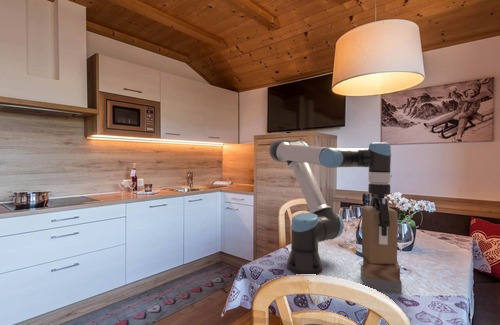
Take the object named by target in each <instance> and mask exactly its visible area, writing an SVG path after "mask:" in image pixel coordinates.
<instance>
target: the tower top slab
mask: <svg viewBox="0 0 500 325" xmlns="http://www.w3.org/2000/svg"><path fill="white" fill-rule="evenodd" d="M362 265H363V276H364V277H370V278H376V279H382V280H388V281H394V282H400V280H401V268H400V267H401V266H400V264H399V261H398V260H397V264H371V263H369V262H368V260H367V259H366V258H365V256H364V255H363V254H362Z"/></svg>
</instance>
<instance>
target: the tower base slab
mask: <svg viewBox="0 0 500 325" xmlns="http://www.w3.org/2000/svg"><path fill="white" fill-rule="evenodd" d="M360 278H361V282H362V283H363V286H364V285H365V286H368V287H370V288H373V289H376V290H377V291H376V292H381V291H384V292H383V293H389V292H390V294H397V293H400V294H399V295H402V294H403V293H402V292H403V291H402V288H403V286H402V282H403V281H402V280H401V279H400V282H394V281H388V280H382V279H376V278H370V277H364V276H363V264H360ZM381 293H382V292H381Z"/></svg>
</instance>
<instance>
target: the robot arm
mask: <svg viewBox="0 0 500 325" xmlns="http://www.w3.org/2000/svg"><path fill="white" fill-rule="evenodd" d="M391 148H392V147H391V144H390V143H389V142H370V143H369V144H368V147H367V148H350V147H349V148H348V147H347V148H346V147H345V148H344V147H343V148H342V147H325V146H323V147H322V146H314V145H313V146H312V145H308V143H306V142H305V141H304V140H299V139H296V140H292V139H291V140H290V139H277V140H275V141H273V142H272V143H271V144H270V146H269V150H268V151H269V155H270V158H271V159H272V160H273V161H275V162H279V163H287V166H288V168H289V169H291V170H292V171H293V173H294V176H295V177H296V181H297V183H298V185H299V188H300V190H301V193H302V195H303V197H304V200H305V202H306V205H307V207H308V210H309V212H306V213H305V212H304V213H302V212H301V213H299V214H296V215H294V216H293V217H292V219H291V225H290V228H291V229H290V230H291V231H290V234H291V235H290V236H291V237H290V239H291V241H290V245H291V249H290V253H289V255H288V257H287V258H288V259H287V261H286V264H287V266H286V267H287V269H288V270H289V271H290V272H292V273H294V274H297V275H300V274H316V275H318V274H320V273H322V271H323V263H322V258H321V257H320V254H319V243H320V242H325V241H328V240H334V239H336V238H339V237H340V236H341V235H342V234H343V230H344V227H345V224H344V220H343V218H342V216H341V215H340V214H339V213H337V212H334V210H333V208H332V206H330V205H328V204H327V201H326V200H325V198H324V196H323V194H322V191H321V189H320V187H319V184H318V182H317V180H316V177H315V175H314V173H313V170H312V169H311V166H310V164H311V165H318V166H323V167H324V168H329V169H335V168H368V179H367V180H368V182H369V183H368V189H367V190H368V194H371V200H370V206H375V207H376V210H378V211H380V213H379V221H380V224H378V226H379V244H384V245H388V226H390V221H389V212H388V207H389V206H388V204H389V203H388V200H389V199H388V198H385V196H386V195H390V194H391V184H390V183H391V178H393V175H392V174H391V167H392V166H391V163H392V162H391V161H392V151H391V150H392V149H391ZM384 222H385V223H384Z"/></svg>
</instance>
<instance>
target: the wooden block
mask: <svg viewBox="0 0 500 325" xmlns="http://www.w3.org/2000/svg"><path fill="white" fill-rule="evenodd" d="M388 212H389V221H390V226H388V245H384V244H379V226H378V224H380V221H379V213H380V211H378V210H376V207H375V206H371V205H364V206H362V209H361V217H362V218H361V254H362V256H363V255H364V256H365V258H366V259H367V260H368V262H369V263H371V264H397V261H398V211H397V210H395V209H393V208H391V207H389V206H388ZM384 223H385V222H384Z"/></svg>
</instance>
